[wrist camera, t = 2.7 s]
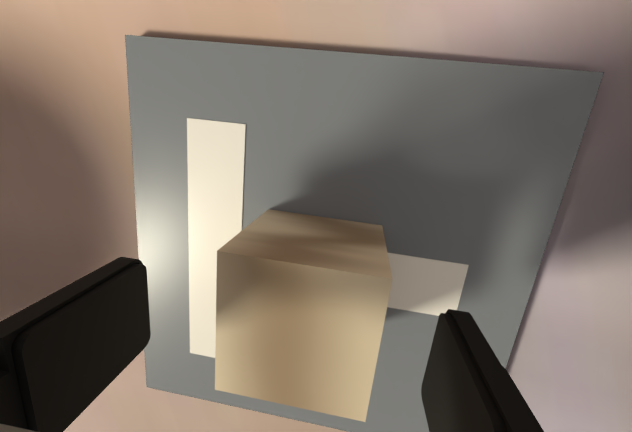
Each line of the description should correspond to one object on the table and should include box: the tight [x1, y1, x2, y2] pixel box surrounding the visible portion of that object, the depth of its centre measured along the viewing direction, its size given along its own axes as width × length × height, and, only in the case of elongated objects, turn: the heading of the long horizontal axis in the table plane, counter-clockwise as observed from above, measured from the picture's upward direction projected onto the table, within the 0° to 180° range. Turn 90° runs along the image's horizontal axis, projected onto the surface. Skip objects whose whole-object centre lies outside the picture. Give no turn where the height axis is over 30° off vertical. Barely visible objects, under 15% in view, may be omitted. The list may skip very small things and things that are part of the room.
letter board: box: [125, 35, 604, 432], centre depth 14 cm, size 18×18×1 cm
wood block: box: [215, 209, 392, 422], centre depth 12 cm, size 5×5×5 cm
